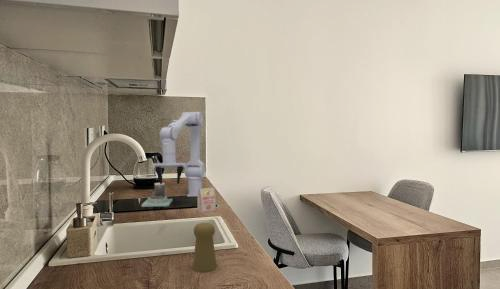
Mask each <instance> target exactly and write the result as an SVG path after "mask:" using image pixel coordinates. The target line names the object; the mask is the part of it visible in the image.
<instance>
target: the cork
mask: <svg viewBox="0 0 500 289" xmlns="http://www.w3.org/2000/svg"><path fill="white" fill-rule="evenodd" d="M215 232H216V230H215V226H214V224H212V223H211V222H201V223H200V222H199V223H197V224H196V225H194V227H193V235H194V237H195V242H194V243H195V245H194V254H193V262H192V270H193V271H194V272H199V273H207V272H208V273H209V272H212V271H214V270H216V269H217V267H218V263H217V258H216V252H215V244H214V238H213V236H214V235H215Z"/></svg>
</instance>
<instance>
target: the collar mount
mask: <svg viewBox="0 0 500 289" xmlns="http://www.w3.org/2000/svg"><path fill="white" fill-rule="evenodd" d="M147 199H148V203H153V204H155V203H164V202H167V199H168V196H167V195H165V196H155V195H152V196H148V197H147Z"/></svg>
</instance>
